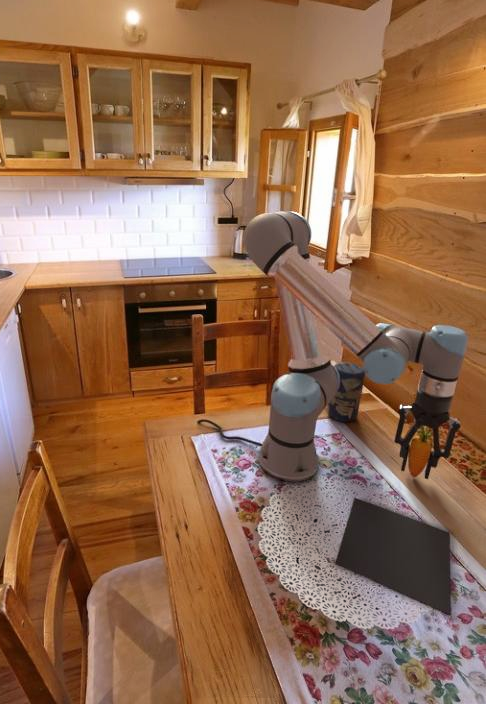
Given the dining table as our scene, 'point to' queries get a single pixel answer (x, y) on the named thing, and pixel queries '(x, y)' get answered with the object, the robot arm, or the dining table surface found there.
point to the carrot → (419, 452)
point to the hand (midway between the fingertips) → (414, 471)
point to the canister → (347, 392)
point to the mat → (398, 553)
